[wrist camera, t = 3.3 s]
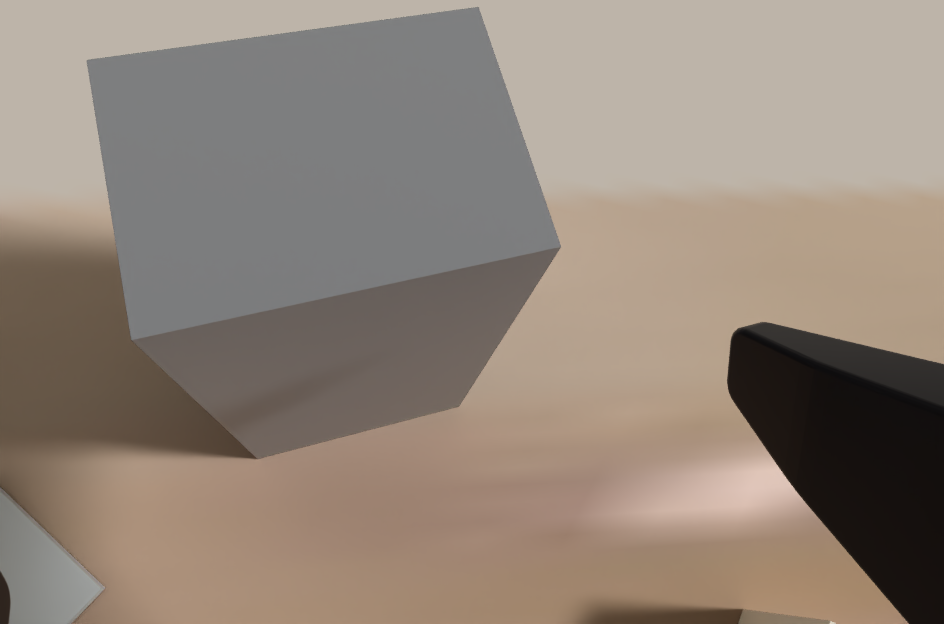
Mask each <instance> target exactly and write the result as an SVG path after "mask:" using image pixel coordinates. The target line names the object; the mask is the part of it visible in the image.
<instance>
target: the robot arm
mask: <svg viewBox="0 0 944 624" xmlns="http://www.w3.org/2000/svg"><path fill="white" fill-rule="evenodd" d="M727 384H728V390H729V393H730V396H731V398H732V400H733V401H734V403H735V404H736V406H737V407H738V409H739V410H740V412H741V413H742V414H743V416H744V417H745V419H746V420H747V422H748V423H749V425H750V426H751V428H752V429H753V430H754V432H755V433H756V435H757V436H758V438H759V439H760V441H761V442H762V443H763V445H764V446H765V448H766V449H767V451H768V452H769V454H770V455H771V456H772V458H773V459H774V461H775V462H776V464H777V465H778V467H779V468H780V469H781V471H782V472H783V474H784V475H785V477H786V478H787V479H788V481H789V482H790V483H791V485H792V486H793V487H794V489H795V490H796V491H797V493H798V494H799V495H800V496H801V498H802V499H803V500H804V501H805V502H806V504H807V505H808V506H809V507H810V508H811V510H812V511H813V512H814V513H815V514H816V515H817V517H818V518H819V519H820V520H821V521H822V522H823V524H824V525H825V526H826V527H827V528H828V530H829V531H830V532H831V533H832V534H833V535H834V537H835V538H836V539H837V540H838V541H839V542H840V544H841V545H842V546H843V547H844V548H845V549H846V551H847V552H848V553H849V554H850V555H851V556H852V558H853V559H854V560H855V561H856V562H857V564H858V565H859V566H860V567H861V568H862V569H863V571H864V572H865V573H866V574H867V575H868V576H869V578H870V579H871V580H872V581H873V582H874V583H875V585H876V586H877V587H878V588H879V589H880V590H881V592H882V593H883V594H884V595H885V596H886V598H887V599H888V600H889V601H890V602H891V603H892V605H893V606H894V607H895V608H896V609H897V610H898V612H899V613H900V614H901V615H902V616H903V617H904V619H905V620H906V621H907V622H908V623H909V624H944V364H941V363H936V362H932V361H928V360H924V359H920V358H915V357H911V356H907V355H903V354H899V353H894V352H890V351H886V350H882V349H877V348H873V347H869V346H865V345H861V344H856V343H852V342H848V341H844V340H840V339H835V338H831V337H827V336H823V335H818V334H814V333H810V332H806V331H802V330H797V329H793V328H789V327H785V326H781V325H776V324H772V323H767V322H760V323H757V324H753V325H749V326H745V327H741V328H738V329H737V330H736V331H735V332H734V333H733V335H732V337H731V344H730V355H729V366H728V378H727ZM10 606H11V599H10V591H9V587H8V584H7V582H6V580H5V578H4V576H3V575H2V573H1V571H0V624H9V617H10Z"/></svg>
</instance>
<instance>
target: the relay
mask: <svg viewBox="0 0 944 624" xmlns="http://www.w3.org/2000/svg"><path fill="white" fill-rule="evenodd" d="M738 624H835V623H833V622H832V621H828V620H821V619H813V618H806V617H798V616H791V615H783V614H776V613H768V612H761V611H753V610H746V609H743V611H742V614H741V617H740V620H739V623H738Z"/></svg>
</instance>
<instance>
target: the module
mask: <svg viewBox="0 0 944 624" xmlns="http://www.w3.org/2000/svg"><path fill="white" fill-rule="evenodd" d="M87 66H88V72H89V78H90V84H91V90H92V97H93V103H94V110H95V116H96V122H97V128H98V134H99V141H100V147H101V153H102V160H103V166H104V172H105V179H106V185H107V191H108V198H109V204H110V210H111V216H112V223H113V229H114V235H115V241H116V248H117V254H118V260H119V267H120V273H121V279H122V285H123V292H124V298H125V304H126V310H127V317H128V323H129V329H130V336H131V340H132V341H133V342H134V343H135V344H136V345H137V346H138V347H139V348H140V349H141V350H142V351H143V352H144V353H145V354H146V355H148V356H149V357H150V358H151V359H152V360H153V361H154V362H155V363H156V364H157V365H158V366H159V367H160V368H161V369H162V370H163V371H165V372H166V373H167V374H168V375H169V376H170V377H171V378H172V379H173V380H174V381H175V382H176V383H177V384H178V385H179V386H180V387H182V388H183V389H184V390H185V391H186V392H187V393H188V394H189V395H190V396H191V397H192V398H193V399H194V400H195V401H196V402H197V403H199V404H200V405H201V406H202V407H203V408H204V409H205V410H206V411H207V412H208V413H209V414H210V415H211V416H212V417H213V418H214V419H216V420H217V421H218V422H219V423H220V424H221V425H222V426H223V427H224V428H225V429H226V430H227V431H228V432H229V433H230V434H231V435H233V436H234V437H235V438H236V439H237V440H238V441H239V442H240V443H241V444H242V445H243V446H244V447H245V448H246V449H247V450H249V451H250V452H251V453H252V454H253V455H254V456H255V457H256V458H257V459H260V458H264V457H267V456H271V455H275V454H279V453H283V452H287V451H290V450H294V449H298V448H302V447H306V446H310V445H313V444H317V443H321V442H325V441H329V440H333V439H336V438H340V437H344V436H348V435H352V434H356V433H359V432H363V431H367V430H371V429H375V428H379V427H382V426H386V425H390V424H394V423H398V422H402V421H405V420H409V419H413V418H417V417H421V416H425V415H428V414H432V413H436V412H440V411H444V410H448V409H451V408H455V407H459V406H460V404H461V403H462V401H463V400H464V398H465V396H466V395H467V393H468V392H469V390H470V389H471V387H472V385H473V384H474V382H475V381H476V379H477V378H478V376H479V374H480V373H481V371H482V370H483V368H484V367H485V365H486V364H487V362H488V360H489V359H490V357H491V356H492V354H493V353H494V351H495V349H496V348H497V346H498V345H499V343H500V342H501V340H502V338H503V337H504V335H505V334H506V332H507V331H508V329H509V328H510V326H511V324H512V323H513V321H514V320H515V318H516V317H517V315H518V313H519V312H520V310H521V309H522V307H523V306H524V304H525V302H526V301H527V299H528V298H529V296H530V295H531V293H532V292H533V290H534V288H535V287H536V285H537V284H538V282H539V281H540V279H541V277H542V276H543V274H544V273H545V271H546V270H547V268H548V266H549V265H550V263H551V262H552V260H553V259H554V257H555V256H556V254H557V252H558V251H559V249H560V248H561V245H560V242H559V239H558V236H557V233H556V230H555V228H554V225H553V222H552V219H551V216H550V213H549V210H548V207H547V204H546V201H545V199H544V196H543V193H542V190H541V187H540V184H539V181H538V178H537V175H536V172H535V170H534V167H533V164H532V161H531V158H530V155H529V152H528V149H527V147H526V144H525V141H524V138H523V135H522V132H521V129H520V126H519V123H518V120H517V117H516V115H515V112H514V109H513V106H512V103H511V100H510V97H509V94H508V91H507V89H506V86H505V83H504V80H503V77H502V74H501V71H500V68H499V65H498V62H497V60H496V57H495V54H494V51H493V48H492V45H491V42H490V39H489V36H488V33H487V30H486V28H485V25H484V22H483V19H482V16H481V13H480V11H479V7H475V8H468V9H460V10H453V11H445V12H438V13H431V14H423V15H417V16H408V17H401V18H394V19H386V20H379V21H372V22H364V23H357V24H349V25H342V26H335V27H327V28H320V29H312V30H305V31H298V32H290V33H283V34H276V35H268V36H261V37H254V38H246V39H238V40H231V41H224V42H217V43H209V44H201V45H194V46H187V47H179V48H172V49H164V50H157V51H150V52H142V53H135V54H128V55H121V56H113V57H105V58H98V59H91V60H87Z"/></svg>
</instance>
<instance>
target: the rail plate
mask: <svg viewBox="0 0 944 624" xmlns="http://www.w3.org/2000/svg"><path fill="white" fill-rule="evenodd" d="M0 571H1V573H2V575H3V576H4V578H5V580H6V582H7V584H8V587H9V591H10V599H11V606H10V617H9V624H71V623H72V622H73V621H74V620H75V619H76V618H77V617H78V616H79V615H80V614H81V613H82V612H83V611H84V610H85V609H86V608H87V607H88V606H89V605H90V604H91V603H92V602H93V601H94V600H95V599H96V597H97V596H98V595H99V594H100V593H101V592H102V591H103V590H104V589H105V587H104V586H103V585H102V584H101V583H100V582H99V581H98V580H97V579H96V578H95V577H94V576H93V575H91V574H90V573H89V572H88V571H87V570H86V569H85V568H84V567H83V566H82V565H81V564H80V563H79V562H78V561H77V560H76V559H75V558H74V557H73V556H72V555H71V554H70V553H69V552H68V551H66V550H65V549H64V548H63V547H62V546H61V545H60V544H59V543H58V542H57V541H56V540H55V539H54V538H53V537H52V536H51V535H50V534H49V533H48V532H47V531H46V530H45V529H44V528H42V527H41V526H40V525H39V524H38V523H37V522H36V521H35V520H34V519H33V518H32V517H31V516H30V515H29V514H28V513H27V512H26V511H25V510H24V509H23V508H22V507H21V506H20V505H19V504H17V503H16V502H15V501H14V500H13V499H12V498H11V497H10V496H9V495H8V494H7V493H6V492H5V491H4V490H3V489H2V488H1V487H0Z"/></svg>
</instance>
